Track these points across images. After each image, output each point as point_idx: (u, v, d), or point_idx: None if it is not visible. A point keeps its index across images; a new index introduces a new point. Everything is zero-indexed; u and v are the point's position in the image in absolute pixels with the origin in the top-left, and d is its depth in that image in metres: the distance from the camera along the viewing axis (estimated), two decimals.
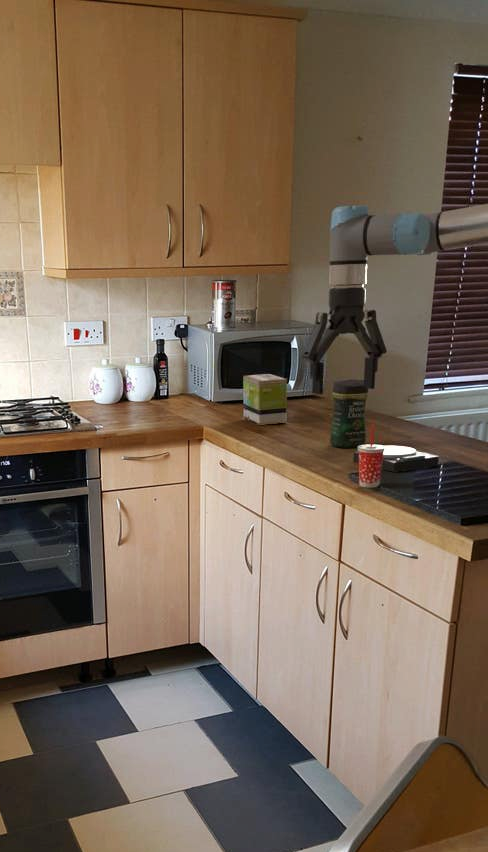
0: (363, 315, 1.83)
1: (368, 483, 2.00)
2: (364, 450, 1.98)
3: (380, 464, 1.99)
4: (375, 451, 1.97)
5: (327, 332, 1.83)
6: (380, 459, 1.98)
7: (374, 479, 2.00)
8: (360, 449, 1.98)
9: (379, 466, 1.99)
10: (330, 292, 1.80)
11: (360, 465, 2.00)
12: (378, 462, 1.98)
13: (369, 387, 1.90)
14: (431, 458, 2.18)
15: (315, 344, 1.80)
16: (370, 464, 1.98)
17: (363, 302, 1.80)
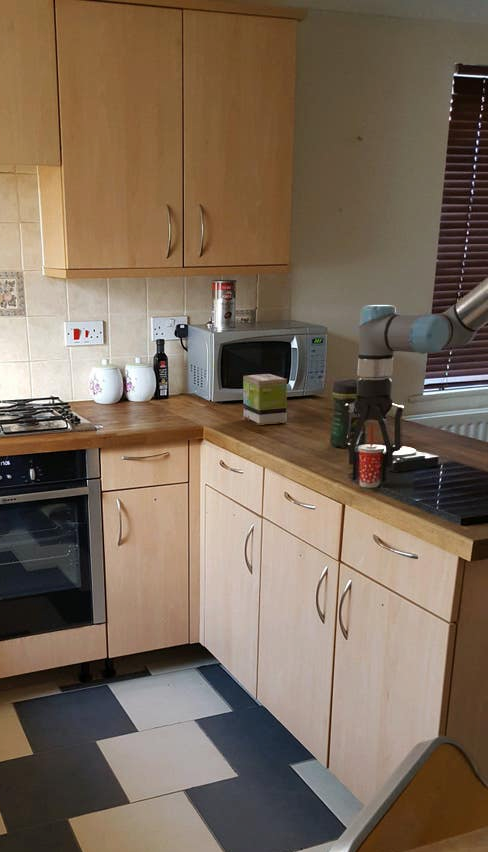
0: (388, 406, 1.94)
1: (369, 483, 2.00)
2: (364, 450, 1.98)
3: (380, 464, 1.99)
4: (375, 451, 1.97)
5: None
6: (380, 459, 1.98)
7: (374, 479, 2.00)
8: (360, 449, 1.98)
9: (379, 466, 1.99)
10: None
11: (360, 465, 2.00)
12: (378, 462, 1.98)
13: None
14: (431, 458, 2.18)
15: (344, 434, 2.00)
16: (370, 464, 1.98)
17: (378, 393, 1.92)
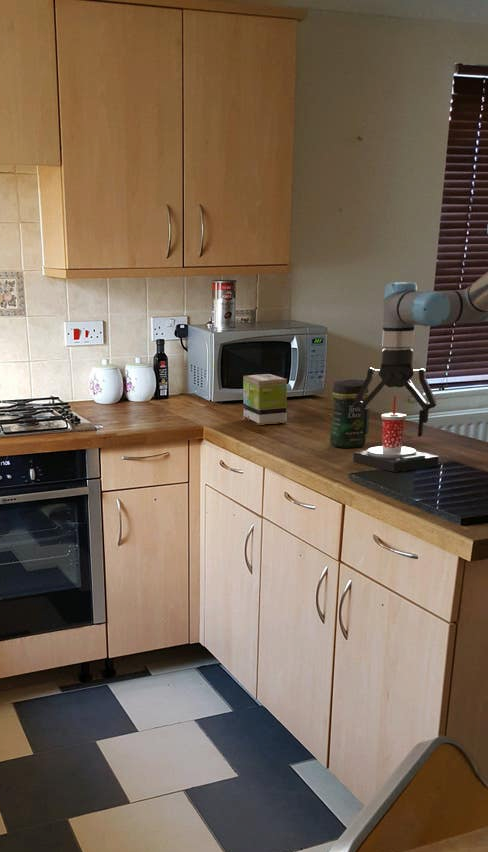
0: (410, 373, 2.15)
1: (391, 448, 2.21)
2: (387, 417, 2.19)
3: (402, 430, 2.20)
4: (397, 418, 2.18)
5: None
6: (401, 426, 2.19)
7: (396, 444, 2.21)
8: (384, 417, 2.20)
9: (401, 432, 2.20)
10: None
11: (383, 431, 2.21)
12: (400, 428, 2.19)
13: (418, 434, 2.19)
14: (431, 458, 2.18)
15: (360, 393, 2.21)
16: (393, 430, 2.19)
17: (401, 362, 2.13)
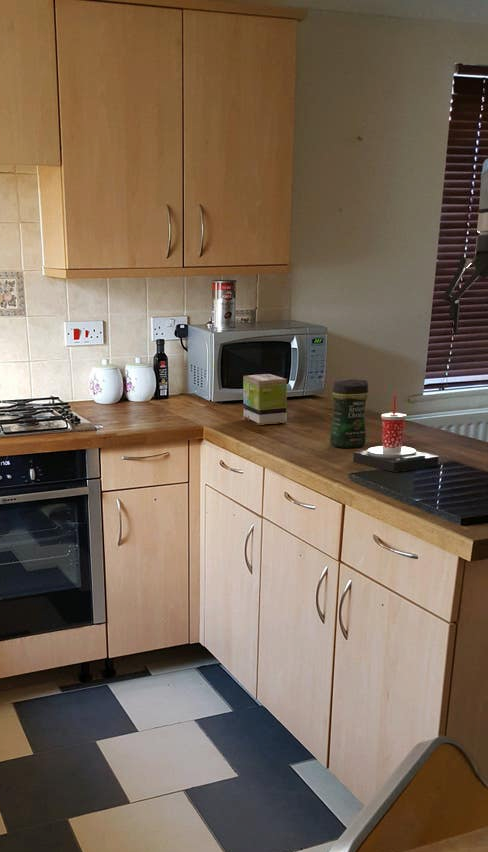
0: None
1: (391, 448, 2.21)
2: (387, 417, 2.19)
3: (402, 430, 2.20)
4: (397, 418, 2.18)
5: None
6: (401, 426, 2.19)
7: (396, 444, 2.21)
8: (384, 417, 2.20)
9: (401, 432, 2.20)
10: None
11: (383, 431, 2.21)
12: (400, 428, 2.19)
13: None
14: (431, 458, 2.18)
15: (450, 286, 2.01)
16: (393, 430, 2.19)
17: None
